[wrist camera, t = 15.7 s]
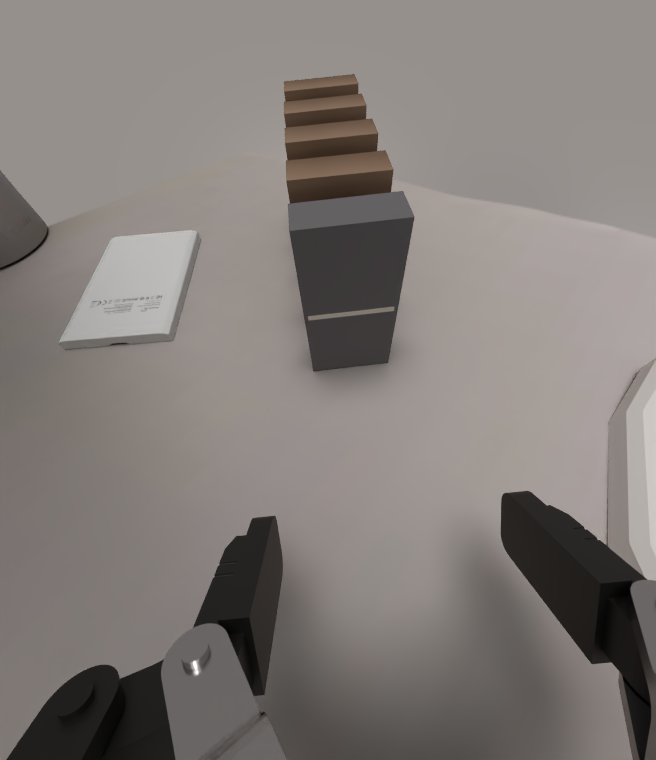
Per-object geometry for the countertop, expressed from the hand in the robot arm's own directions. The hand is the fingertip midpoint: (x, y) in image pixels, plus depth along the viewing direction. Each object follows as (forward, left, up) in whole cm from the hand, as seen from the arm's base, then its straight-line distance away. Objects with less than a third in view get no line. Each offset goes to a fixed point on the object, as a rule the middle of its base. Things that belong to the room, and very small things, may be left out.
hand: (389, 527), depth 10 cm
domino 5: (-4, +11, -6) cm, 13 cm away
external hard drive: (-23, +14, -6) cm, 27 cm away
